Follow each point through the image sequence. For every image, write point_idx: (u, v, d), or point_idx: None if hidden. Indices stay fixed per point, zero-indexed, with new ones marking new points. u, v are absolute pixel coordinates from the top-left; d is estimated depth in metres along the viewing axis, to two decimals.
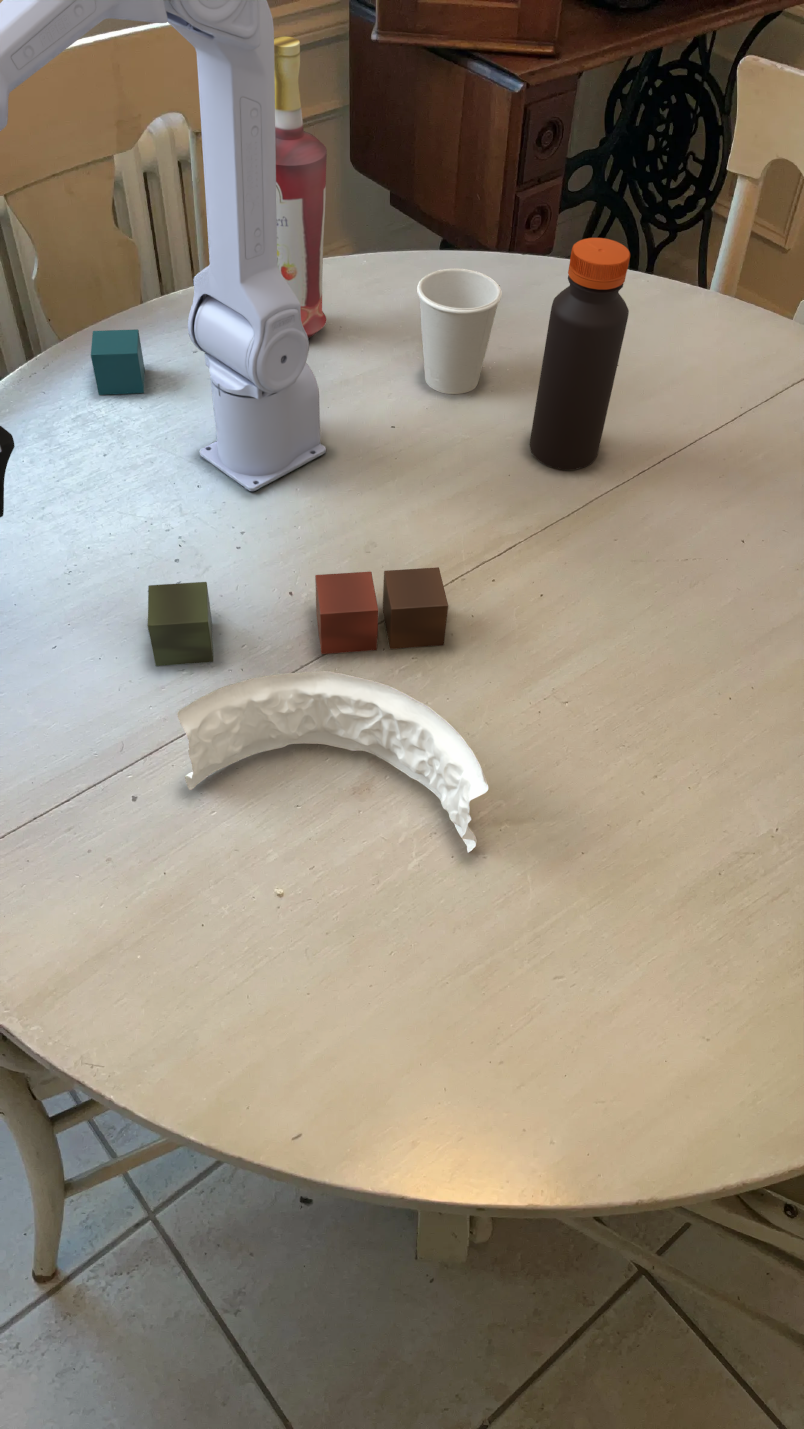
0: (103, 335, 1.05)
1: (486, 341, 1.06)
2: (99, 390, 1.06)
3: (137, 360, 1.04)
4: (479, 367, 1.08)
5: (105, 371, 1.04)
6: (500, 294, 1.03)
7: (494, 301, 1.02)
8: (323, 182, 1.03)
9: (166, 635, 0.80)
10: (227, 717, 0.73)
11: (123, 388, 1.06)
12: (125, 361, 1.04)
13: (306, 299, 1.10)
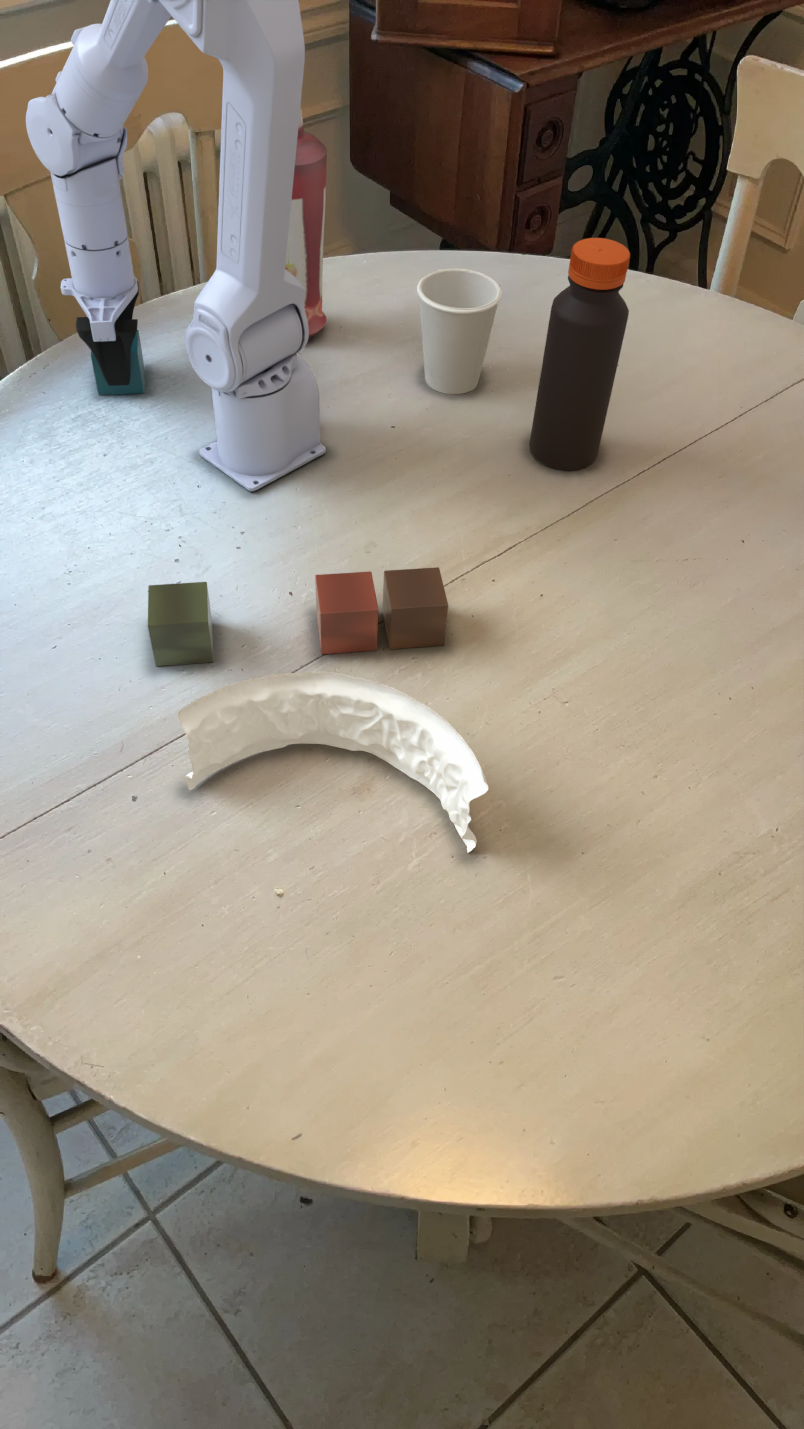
0: None
1: (486, 341, 1.06)
2: (99, 390, 1.06)
3: (137, 360, 1.04)
4: (479, 367, 1.08)
5: None
6: (500, 294, 1.03)
7: (494, 301, 1.02)
8: (323, 182, 1.03)
9: (166, 635, 0.80)
10: (227, 717, 0.73)
11: (123, 388, 1.06)
12: None
13: (306, 299, 1.10)
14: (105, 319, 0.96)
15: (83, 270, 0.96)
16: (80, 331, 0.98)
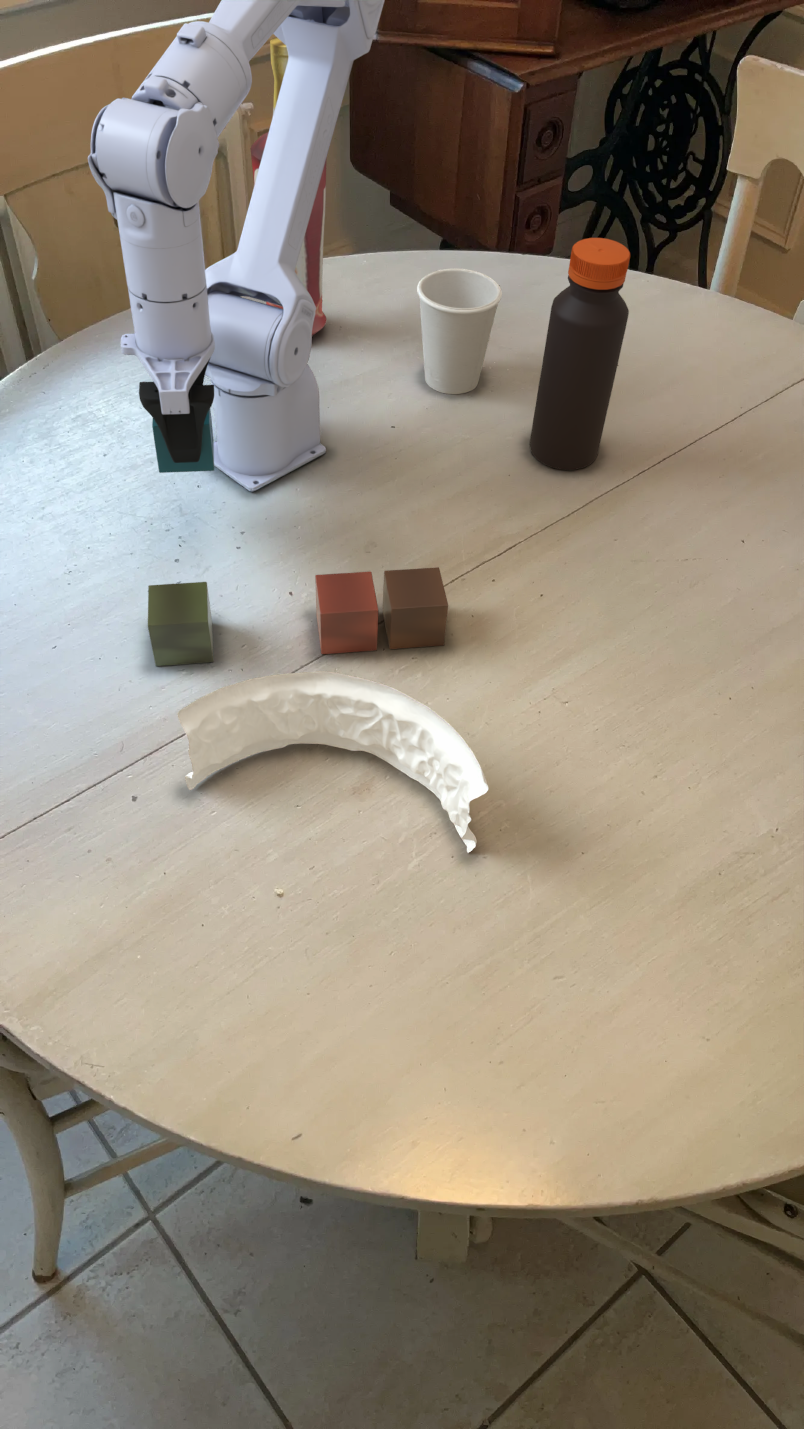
0: None
1: (486, 341, 1.06)
2: (160, 467, 0.86)
3: (208, 433, 0.85)
4: (479, 367, 1.08)
5: None
6: (500, 294, 1.03)
7: (494, 301, 1.02)
8: (323, 182, 1.03)
9: (166, 635, 0.80)
10: (227, 717, 0.73)
11: (189, 465, 0.87)
12: None
13: None
14: (177, 387, 0.77)
15: (150, 326, 0.77)
16: (144, 400, 0.79)
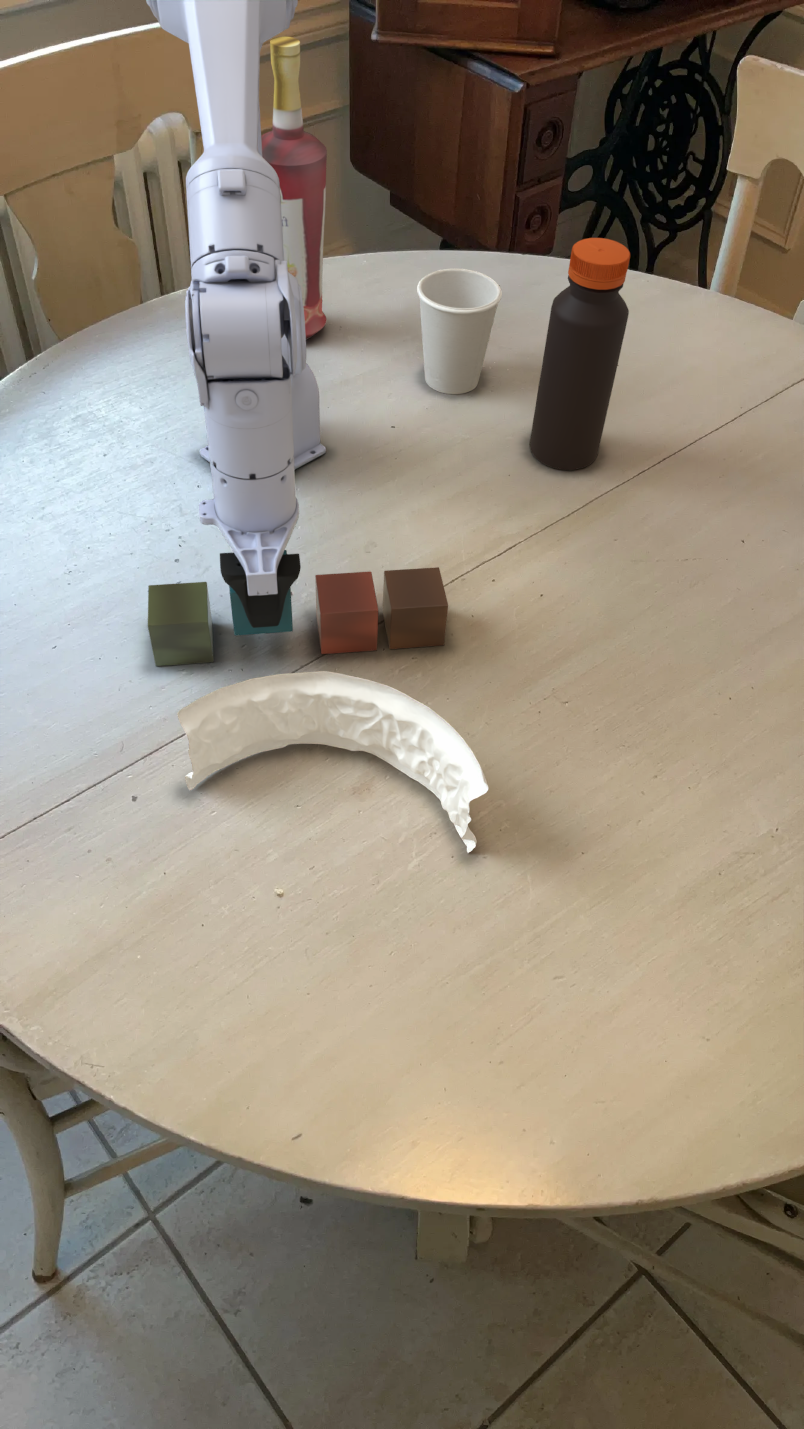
0: None
1: (486, 341, 1.06)
2: (236, 631, 0.81)
3: (289, 597, 0.79)
4: (479, 367, 1.08)
5: None
6: (500, 294, 1.03)
7: (494, 301, 1.02)
8: (323, 182, 1.03)
9: (166, 635, 0.80)
10: (227, 717, 0.73)
11: (267, 627, 0.81)
12: None
13: (306, 299, 1.10)
14: (265, 567, 0.71)
15: (235, 500, 0.71)
16: (227, 576, 0.73)
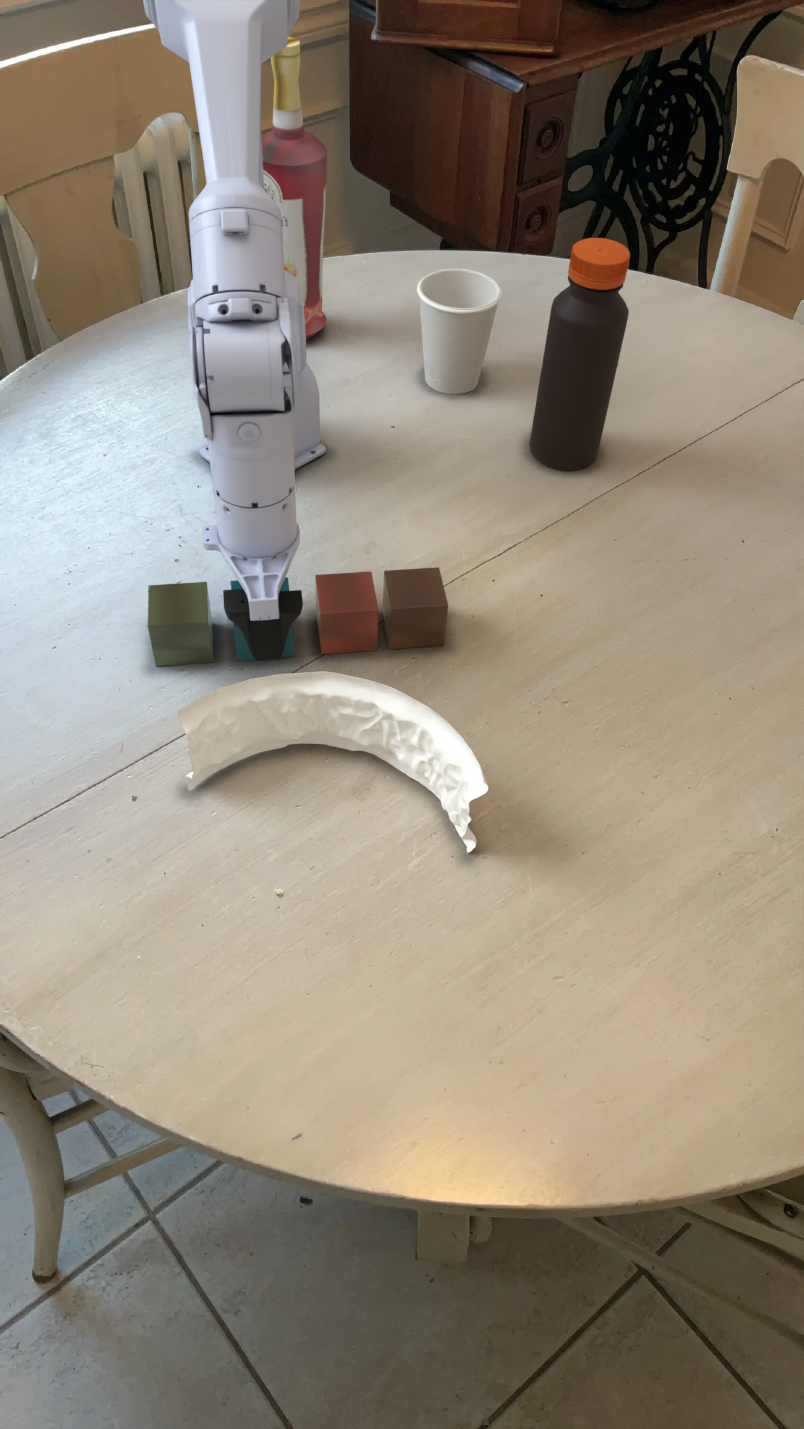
0: None
1: (486, 341, 1.06)
2: (239, 656, 0.83)
3: None
4: (479, 367, 1.08)
5: None
6: (500, 294, 1.03)
7: (494, 301, 1.02)
8: (323, 182, 1.03)
9: (166, 635, 0.80)
10: (227, 717, 0.73)
11: None
12: None
13: (306, 299, 1.10)
14: (266, 592, 0.73)
15: (237, 528, 0.73)
16: (230, 613, 0.74)
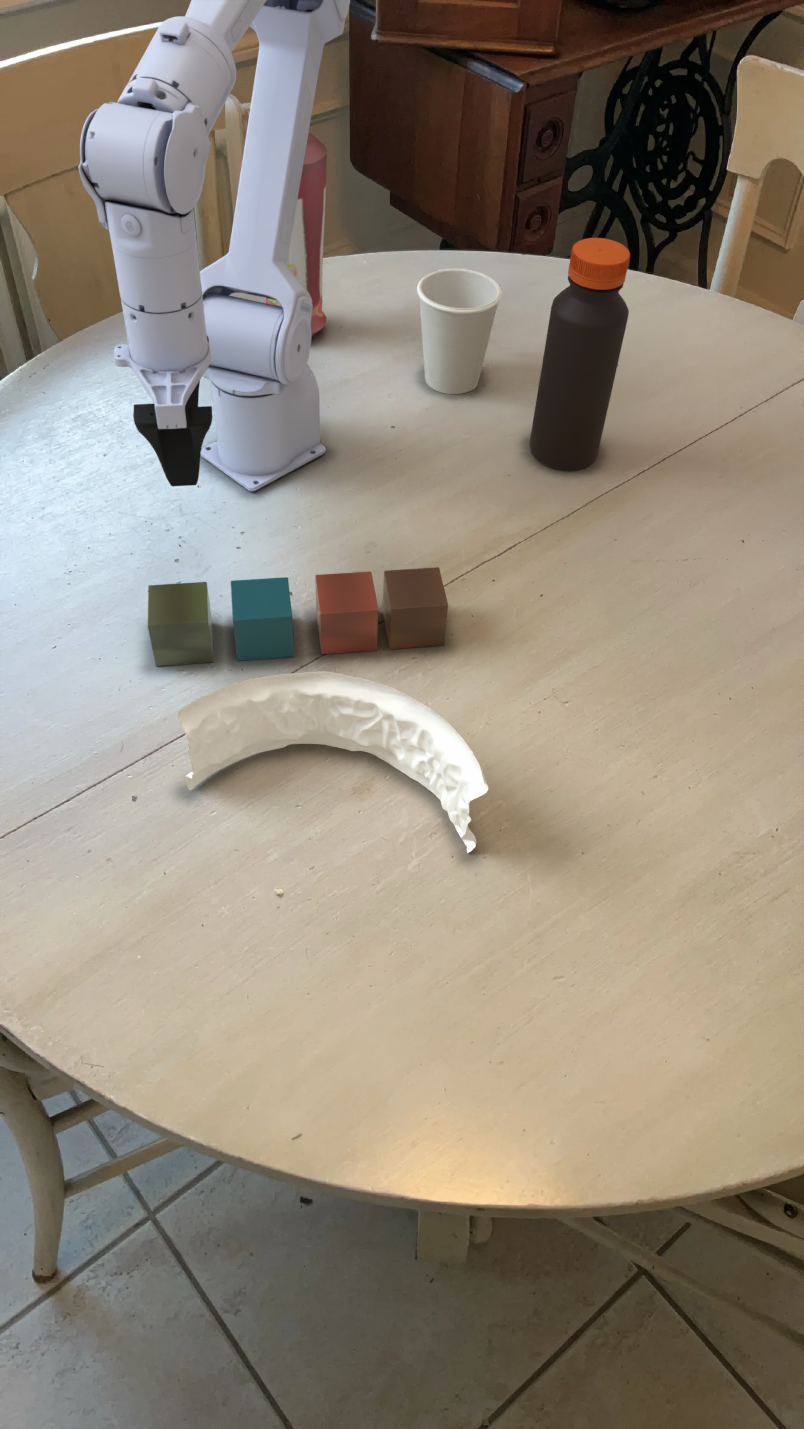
0: (245, 588, 0.82)
1: (486, 341, 1.06)
2: (239, 656, 0.83)
3: (290, 624, 0.81)
4: (479, 367, 1.08)
5: (249, 637, 0.81)
6: (500, 294, 1.03)
7: (494, 301, 1.02)
8: (323, 182, 1.03)
9: (166, 635, 0.80)
10: (227, 717, 0.73)
11: (269, 653, 0.83)
12: (276, 626, 0.81)
13: None
14: (173, 401, 0.74)
15: (145, 337, 0.74)
16: (139, 424, 0.76)
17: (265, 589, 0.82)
